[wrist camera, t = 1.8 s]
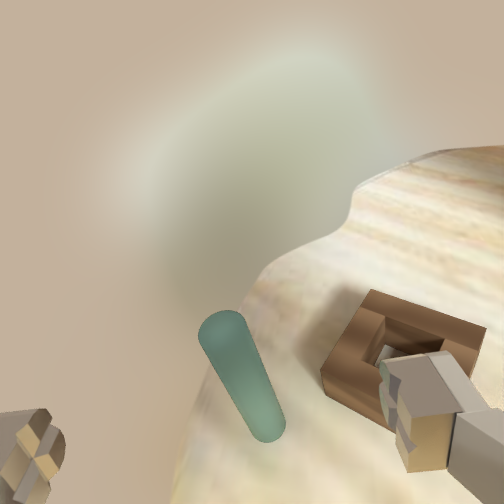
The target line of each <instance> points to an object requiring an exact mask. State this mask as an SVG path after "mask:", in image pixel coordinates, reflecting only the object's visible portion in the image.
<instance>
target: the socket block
mask: <svg viewBox="0 0 504 504" xmlns="http://www.w3.org/2000/svg"><path fill="white" fill-rule="evenodd" d="M486 329H487V328H485V327H482V326H479V325H476V324H473V323H470V322H467V321H464V320H461V319H458V318H455V317H452V316H449V315H446V314H444V313H441V312H438V311H435V310H432V309H429V308H426V307H423V306H420V305H417V304H414V303H411V302H408V301H405V300H402V299H399V298H396V297H394V296H391V295H388V294H385V293H382V292H379V291H376V290H373V289H371V290H370V291H369V293H368V294H367V296H366V298H365V299H364V301H363V302H362V304H361V305H360V307H359V309H358V310H357V312H356V313H355V315H354V317H353V318H352V320H351V321H350V323H349V325H348V326H347V328H346V329H345V331H344V333H343V334H342V336H341V337H340V339H339V341H338V342H337V344H336V345H335V347H334V349H333V350H332V352H331V353H330V355H329V357H328V358H327V360H326V361H325V363H324V365H323V366H322V368H321V369H320V371H321V376H322V380H323V385H324V390H325V394H326V396H328V397H330V398H332V399H334V400H335V401H337V402H339V403H341V404H343V405H345V406H346V407H348V408H350V409H352V410H354V411H355V412H357V413H359V414H361V415H363V416H364V417H366V418H368V419H370V420H372V421H374V422H375V423H377V424H379V425H381V426H383V427H384V428H386V429H388V430H390V431H392V432H393V433H395V434H396V432H395V431H394V430H392V429H391V428H390V427H389V426H388V424H387V422H386V419H385V417H384V414H383V410H382V407H381V402H380V396H379V385H380V384H381V383H382V381H383V379H382V377H381V375H380V372H379V368H377V367H375V366H374V364H375V362H376V360H377V358H378V356H379V354H380V353H381V351H382V349H383V347H384V345H385V344H386V345H388V346H391V347H393V348H396V349H398V350H400V351H403V352H405V353H408V354H410V355H417V354H425V353H432V352H439V351H445V350H446V351H448V352H449V353H451V355H452V356H453V357H454V359H455V360H456V361H457V363H458V364H459V366H460V367H461V368H462V370H463V371H464V373H465V374H466V375H467V377H468V378H469V379H470V377H471V375H472V372H473V369H474V367H475V364H476V361H477V358H478V355H479V352H480V349H481V345H482V342H483V339H484V336H485V332H486Z"/></svg>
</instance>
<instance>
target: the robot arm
mask: <svg viewBox="0 0 504 504" xmlns="http://www.w3.org/2000/svg"><path fill="white" fill-rule="evenodd" d="M379 372H380V375H381V377H382V379H383V381H382V383H381V384H380V385H379V396H380V402H381V407H382V410H383V414H384V417H385V419H386V422H387V424H388V426H389V427H390V428H391V429H392V430H394V431H395V432H396V447H397V449H398V451H399V454H400V456H401V459H402V461H403V463H404V466H405V468H406V471H407V473H413V472H423V471H433V470H443V469H448V470H447V471H448V472H449V473H450V474H451V475H452V476H453V477H454V478H455V479H456V480H458V481H459V482H460V483H461V484H462V485H463V486H464V487H465V488H466V489H468V490H469V491H470V492H471V493H472V494H473V495H474V496H475V497H476V498H477V499H479V500H480V501H481V502H482V503H483V504H504V411H502V410H500V409H499V408H494V409H491V408H490V407H489V406H488V404H487V403H486V402H485V400H484V399H483V397H482V396H481V395H480V393H479V392H478V390H477V389H476V388H475V386H474V385H473V384H472V382H471V381H470V379H469V378H468V377H467V375H466V374H465V373H464V371H463V370H462V368H461V367H460V366H459V364H458V363H457V361H456V360H455V359H454V357H453V356H452V355H451V353H449V352H448V351H446V350H445V351H439V352H432V353H425V354H417V355H411V356H404V357H397V358H391V359H384V360H381V361H380V365H379ZM51 420H52V416H51V415H50V413H49V412H48V411H47V409H32V410H23V411H14V412H5V413H0V504H45V502H46V500H47V498H48V496H49V493H50V491H51V487H50V483H49V480H50V479H51V478H52V477H53V476H54V475H55V474H56V473H57V472H58V471H59V469H60V467H61V465H62V462H63V460H64V455H65V446H66V445H65V439H64V435H63V434H62V432H61V430H60V429H58V428H56V427H54V426H53V425H51V424H50V423H51Z"/></svg>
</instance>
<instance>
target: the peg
mask: <svg viewBox="0 0 504 504" xmlns="http://www.w3.org/2000/svg"><path fill="white" fill-rule="evenodd" d="M198 339H199V342H200V344H201V346H202V348H203V350H204V351H205V353H206V355H207V356H208V358H209V360H210V362H211V363H212V365H213V367H214V369H215V370H216V372H217V374H218V375H219V377H220V379H221V381H222V382H223V384H224V386H225V388H226V389H227V391H228V393H229V394H230V396H231V398H232V400H233V401H234V403H235V405H236V407H237V408H238V410H239V412H240V413H241V415H242V417H243V419H244V420H245V422H246V424H247V426H248V427H249V429H250V431H251V432H252V434H253V436H254V437H255V438H256V439H257V440H259V441H261V442H265V443H269V442H273V441H275V440H277V439H278V438H279V437H280V436H281V435H282V434H283V432H284V429H285V424H286V422H285V417H284V415H283V412H282V410H281V407H280V405H279V402H278V400H277V397H276V395H275V392H274V390H273V388H272V385H271V383H270V380H269V378H268V375H267V373H266V370H265V368H264V366H263V363H262V361H261V358H260V356H259V353H258V351H257V348H256V346H255V343H254V341H253V339H252V336H251V334H250V331H249V329H248V326H247V324H246V321H245V319H244V318H243V316H242V315H241V314H239V313H238V312H235V311H230V310H225V311H220V312H217V313H215V314H213V315H211V316H210V317H208V318H207V319H206V320H205V321H204V322H203V324H202V325H201V327H200V329H199V333H198Z"/></svg>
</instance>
